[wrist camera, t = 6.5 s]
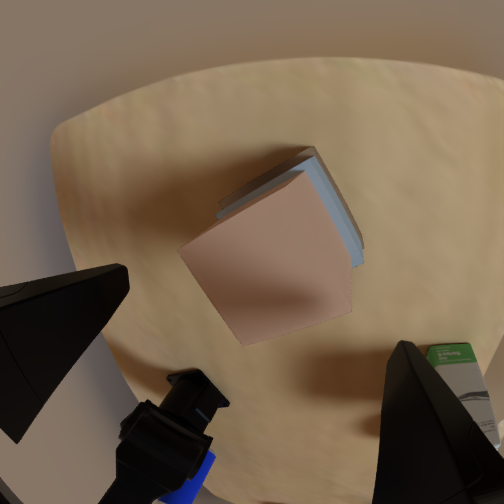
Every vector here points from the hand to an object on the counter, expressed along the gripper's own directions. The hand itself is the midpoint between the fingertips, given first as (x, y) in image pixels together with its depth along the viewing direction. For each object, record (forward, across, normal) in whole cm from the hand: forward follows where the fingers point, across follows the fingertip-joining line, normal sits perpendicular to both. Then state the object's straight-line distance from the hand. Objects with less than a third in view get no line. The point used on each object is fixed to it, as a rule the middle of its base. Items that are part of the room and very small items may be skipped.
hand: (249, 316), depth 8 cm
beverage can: (+13, +8, +45) cm, 48 cm away
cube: (+7, 0, 0) cm, 7 cm away
